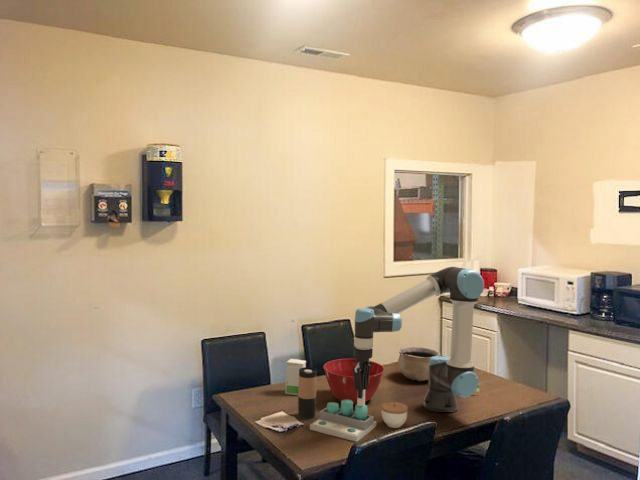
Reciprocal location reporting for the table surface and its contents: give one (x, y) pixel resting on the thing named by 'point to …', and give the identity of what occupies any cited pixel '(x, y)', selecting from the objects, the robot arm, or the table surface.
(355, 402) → the mixing bowl
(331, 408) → the button
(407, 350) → the ceramic bowl
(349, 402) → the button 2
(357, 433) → the button panel
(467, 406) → the table surface
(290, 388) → the skincare box
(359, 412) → the button
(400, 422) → the lidded jar
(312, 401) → the travel mug
